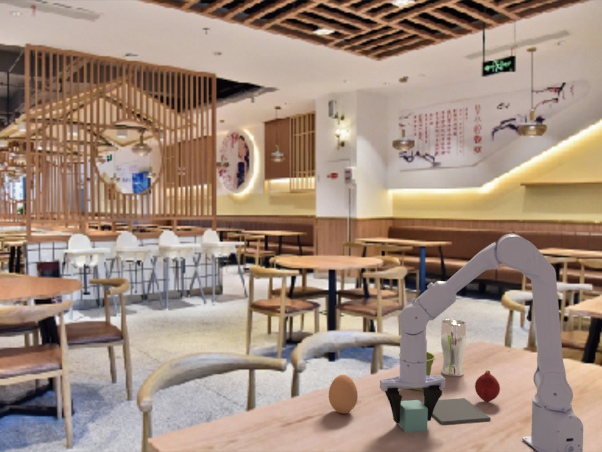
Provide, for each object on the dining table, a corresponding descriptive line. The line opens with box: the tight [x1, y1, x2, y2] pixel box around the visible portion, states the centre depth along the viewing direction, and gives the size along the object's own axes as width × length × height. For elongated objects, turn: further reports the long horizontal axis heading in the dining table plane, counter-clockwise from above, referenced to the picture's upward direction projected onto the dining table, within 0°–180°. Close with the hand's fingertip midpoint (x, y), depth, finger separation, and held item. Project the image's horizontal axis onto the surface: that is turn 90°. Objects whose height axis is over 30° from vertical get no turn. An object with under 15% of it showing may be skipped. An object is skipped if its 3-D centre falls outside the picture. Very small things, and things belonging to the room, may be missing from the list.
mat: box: [419, 397, 492, 425], centre depth 124 cm, size 12×12×1 cm
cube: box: [397, 399, 429, 433], centre depth 115 cm, size 5×5×5 cm
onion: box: [474, 369, 501, 403], centre depth 130 cm, size 6×6×8 cm
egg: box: [328, 374, 358, 415], centre depth 123 cm, size 7×7×9 cm
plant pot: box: [398, 351, 436, 392], centre depth 140 cm, size 9×9×9 cm
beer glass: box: [440, 318, 467, 377], centre depth 151 cm, size 7×7×15 cm
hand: (412, 420), depth 115 cm, fingers open, 7 cm apart
